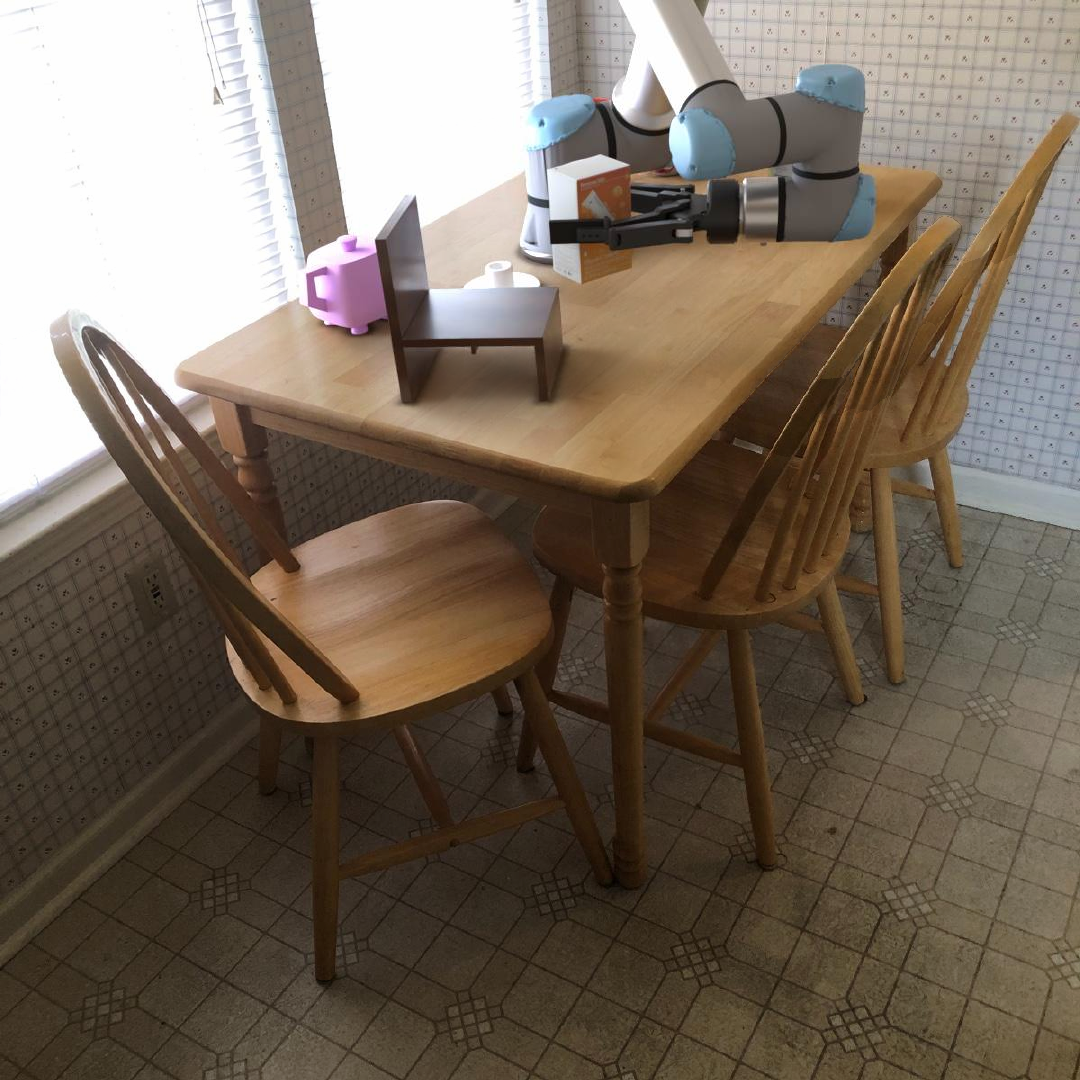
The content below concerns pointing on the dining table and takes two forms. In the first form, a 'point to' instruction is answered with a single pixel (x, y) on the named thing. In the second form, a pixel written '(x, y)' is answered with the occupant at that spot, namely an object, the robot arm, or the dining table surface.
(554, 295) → the wooden toy chair
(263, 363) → the dining table surface
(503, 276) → the candle holder
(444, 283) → the dining table surface
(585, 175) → the small box
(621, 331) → the dining table surface
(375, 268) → the teapot
